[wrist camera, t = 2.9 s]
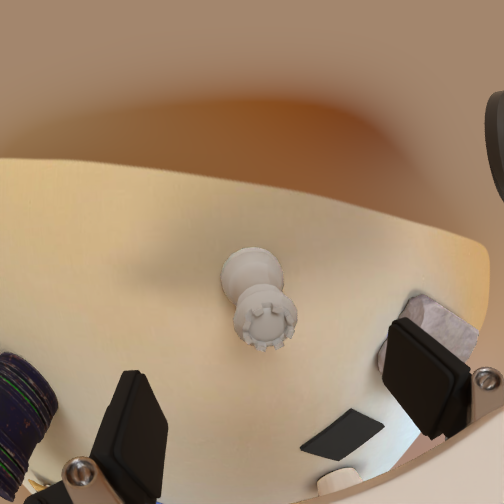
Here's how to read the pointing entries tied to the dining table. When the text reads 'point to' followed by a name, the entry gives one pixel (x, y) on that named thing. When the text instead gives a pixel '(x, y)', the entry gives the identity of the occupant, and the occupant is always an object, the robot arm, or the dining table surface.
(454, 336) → the stone block
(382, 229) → the dining table surface
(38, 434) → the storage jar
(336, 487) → the cup
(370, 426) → the mat
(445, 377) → the robot arm
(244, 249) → the rook chess piece
